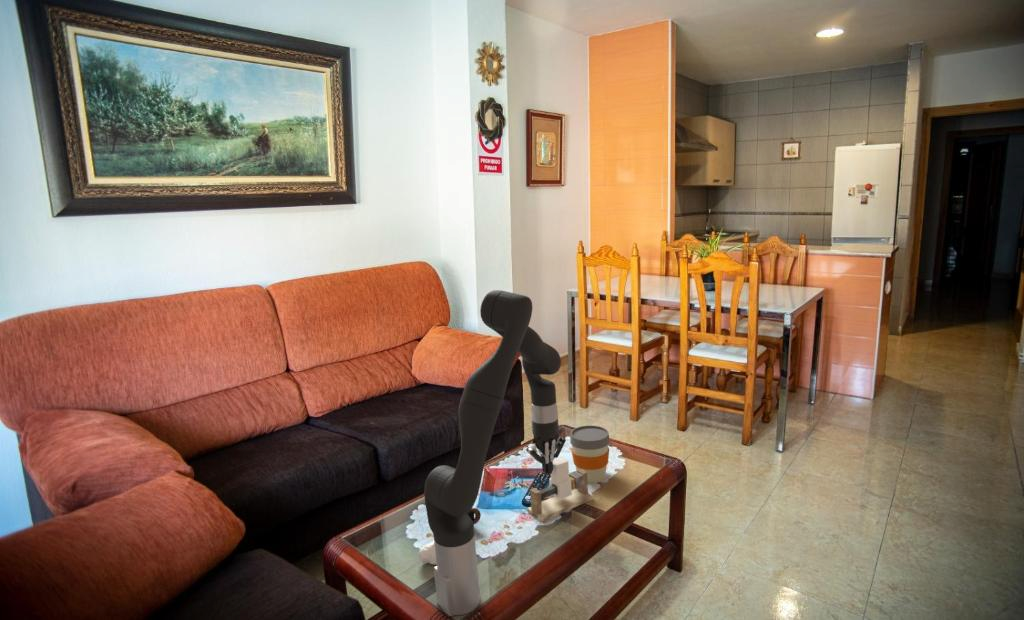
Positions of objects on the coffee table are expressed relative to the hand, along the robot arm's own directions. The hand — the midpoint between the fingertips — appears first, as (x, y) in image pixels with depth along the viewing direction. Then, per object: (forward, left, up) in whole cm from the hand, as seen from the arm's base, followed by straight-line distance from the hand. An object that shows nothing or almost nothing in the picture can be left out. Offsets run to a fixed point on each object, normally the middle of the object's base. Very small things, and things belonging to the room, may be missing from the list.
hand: (548, 473), depth 174 cm
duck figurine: (-36, -1, -12) cm, 38 cm away
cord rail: (+4, 0, -12) cm, 12 cm away
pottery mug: (-24, +9, -12) cm, 29 cm away
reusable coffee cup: (+22, +7, -12) cm, 26 cm away
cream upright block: (+4, 0, -8) cm, 9 cm away
